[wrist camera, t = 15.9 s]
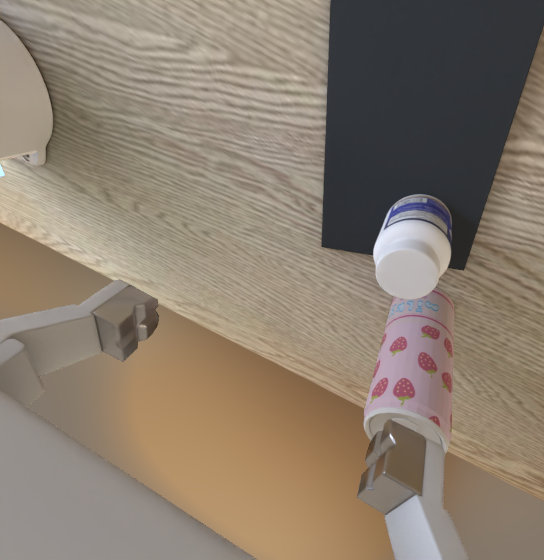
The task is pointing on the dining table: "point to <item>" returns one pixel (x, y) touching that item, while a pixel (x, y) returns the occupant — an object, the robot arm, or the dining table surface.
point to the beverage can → (415, 369)
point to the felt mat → (420, 109)
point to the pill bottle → (413, 246)
